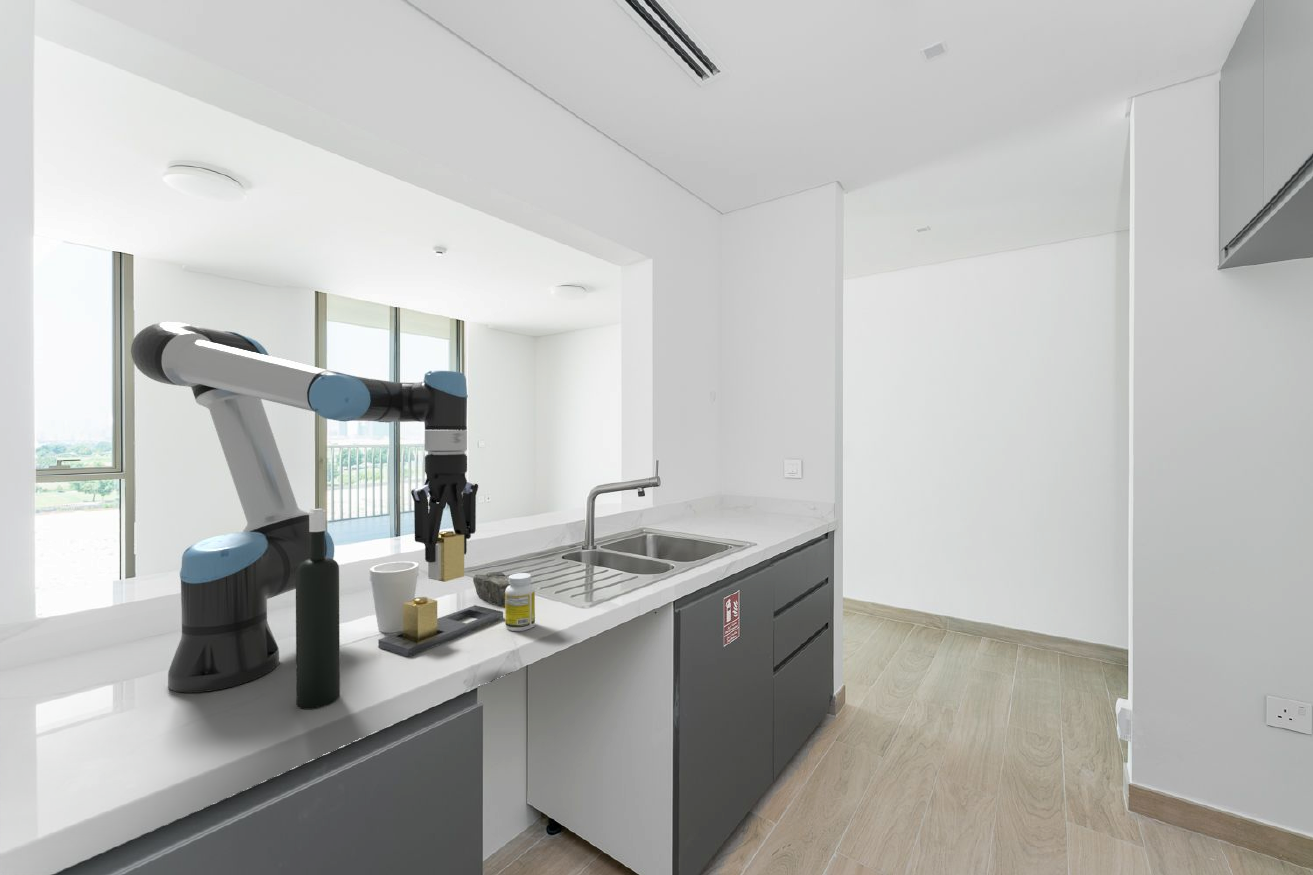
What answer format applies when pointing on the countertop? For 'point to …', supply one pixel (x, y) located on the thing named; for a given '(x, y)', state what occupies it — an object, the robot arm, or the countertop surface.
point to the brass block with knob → (419, 619)
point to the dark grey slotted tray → (442, 630)
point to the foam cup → (393, 592)
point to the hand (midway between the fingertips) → (446, 575)
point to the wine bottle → (317, 622)
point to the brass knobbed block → (451, 555)
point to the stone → (491, 587)
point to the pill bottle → (519, 603)
